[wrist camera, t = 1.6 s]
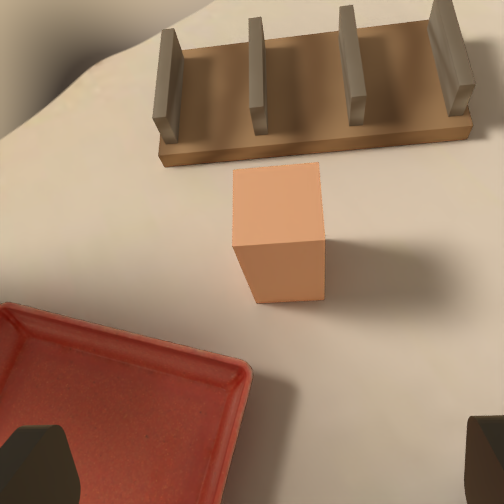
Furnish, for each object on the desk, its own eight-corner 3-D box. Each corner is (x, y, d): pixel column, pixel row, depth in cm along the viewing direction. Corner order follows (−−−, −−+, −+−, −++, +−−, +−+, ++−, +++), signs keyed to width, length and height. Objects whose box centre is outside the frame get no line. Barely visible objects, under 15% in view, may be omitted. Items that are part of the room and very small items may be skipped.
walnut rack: (164, 166, 36) (144, 129, 32) (173, 65, 41) (156, 21, 36) (466, 139, 33) (487, 94, 29) (439, 33, 38) (453, -18, 34)
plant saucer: (-115, 605, 26) (-171, 624, 23) (25, 312, 33) (-5, 297, 30) (171, 741, 22) (147, 785, 19) (264, 372, 29) (257, 362, 26)
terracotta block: (256, 303, 30) (232, 246, 22) (255, 242, 32) (233, 169, 24) (324, 299, 30) (325, 239, 21) (319, 238, 31) (318, 162, 23)
